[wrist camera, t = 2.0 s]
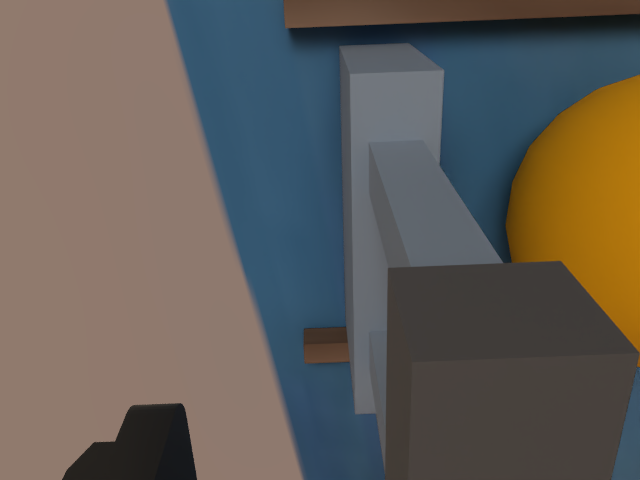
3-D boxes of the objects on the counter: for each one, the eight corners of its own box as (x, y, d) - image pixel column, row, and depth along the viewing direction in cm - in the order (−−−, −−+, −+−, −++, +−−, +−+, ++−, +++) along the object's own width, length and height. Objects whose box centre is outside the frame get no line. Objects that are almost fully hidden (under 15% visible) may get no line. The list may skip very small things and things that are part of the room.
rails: (284, -5, 17) (283, -3, 16) (884, -30, 17) (917, -30, 16) (304, 346, 22) (304, 363, 21) (766, 328, 22) (786, 344, 21)
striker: (339, 45, 17) (416, 248, 5) (408, 43, 17) (665, 238, 5) (345, 317, 21) (396, 820, 9) (401, 315, 21) (534, 815, 9)
